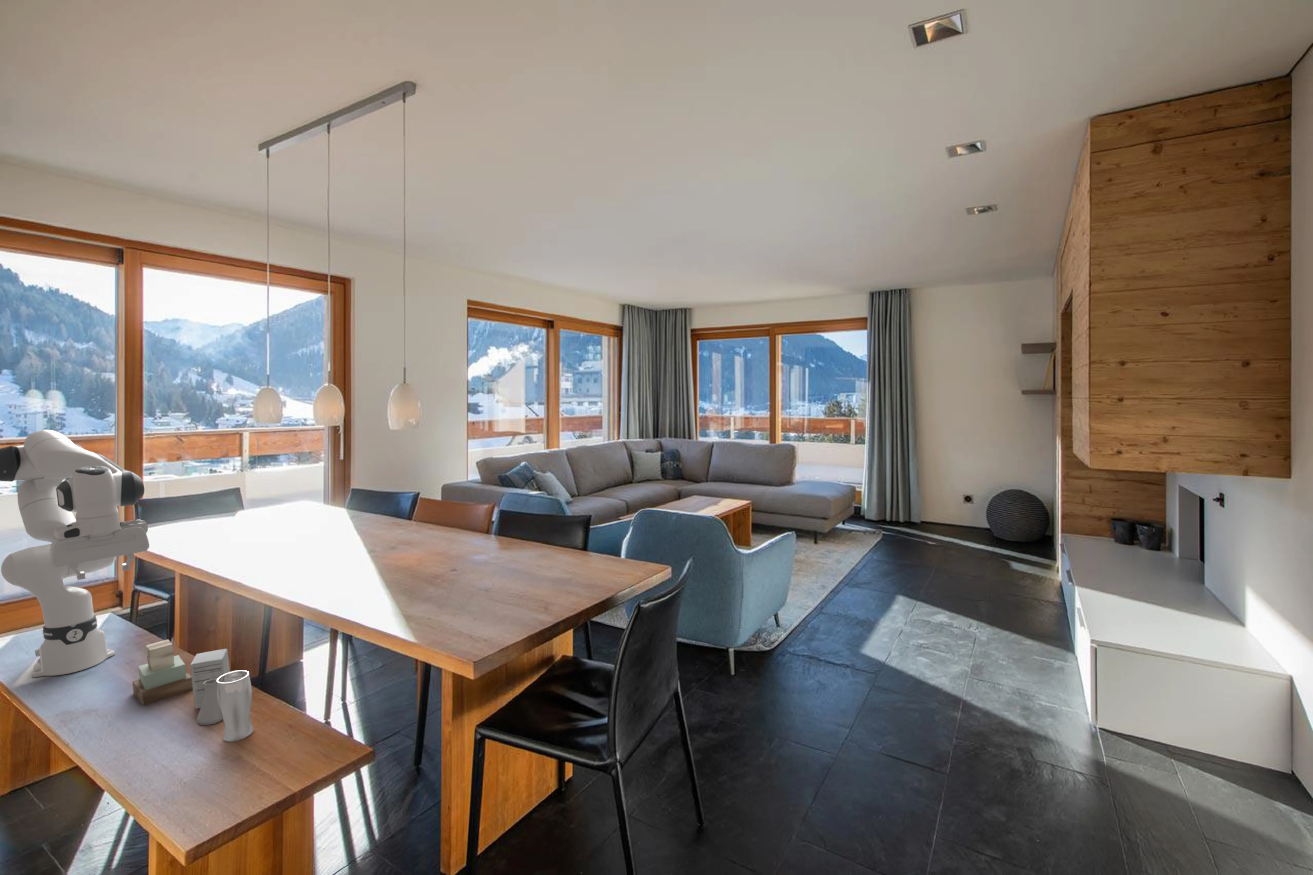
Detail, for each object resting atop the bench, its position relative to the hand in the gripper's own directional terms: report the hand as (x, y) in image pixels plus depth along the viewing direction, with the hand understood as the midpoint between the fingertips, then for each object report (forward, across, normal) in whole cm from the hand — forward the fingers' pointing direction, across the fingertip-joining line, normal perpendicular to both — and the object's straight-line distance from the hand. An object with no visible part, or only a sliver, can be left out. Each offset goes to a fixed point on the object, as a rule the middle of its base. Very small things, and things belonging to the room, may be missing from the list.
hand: (104, 574), depth 169 cm
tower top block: (+31, -8, +10) cm, 33 cm away
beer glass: (+34, -13, +53) cm, 64 cm away
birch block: (+27, -8, +10) cm, 30 cm away
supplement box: (+34, -15, +28) cm, 47 cm away
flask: (+34, -12, +39) cm, 53 cm away
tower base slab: (+35, -8, +10) cm, 37 cm away
